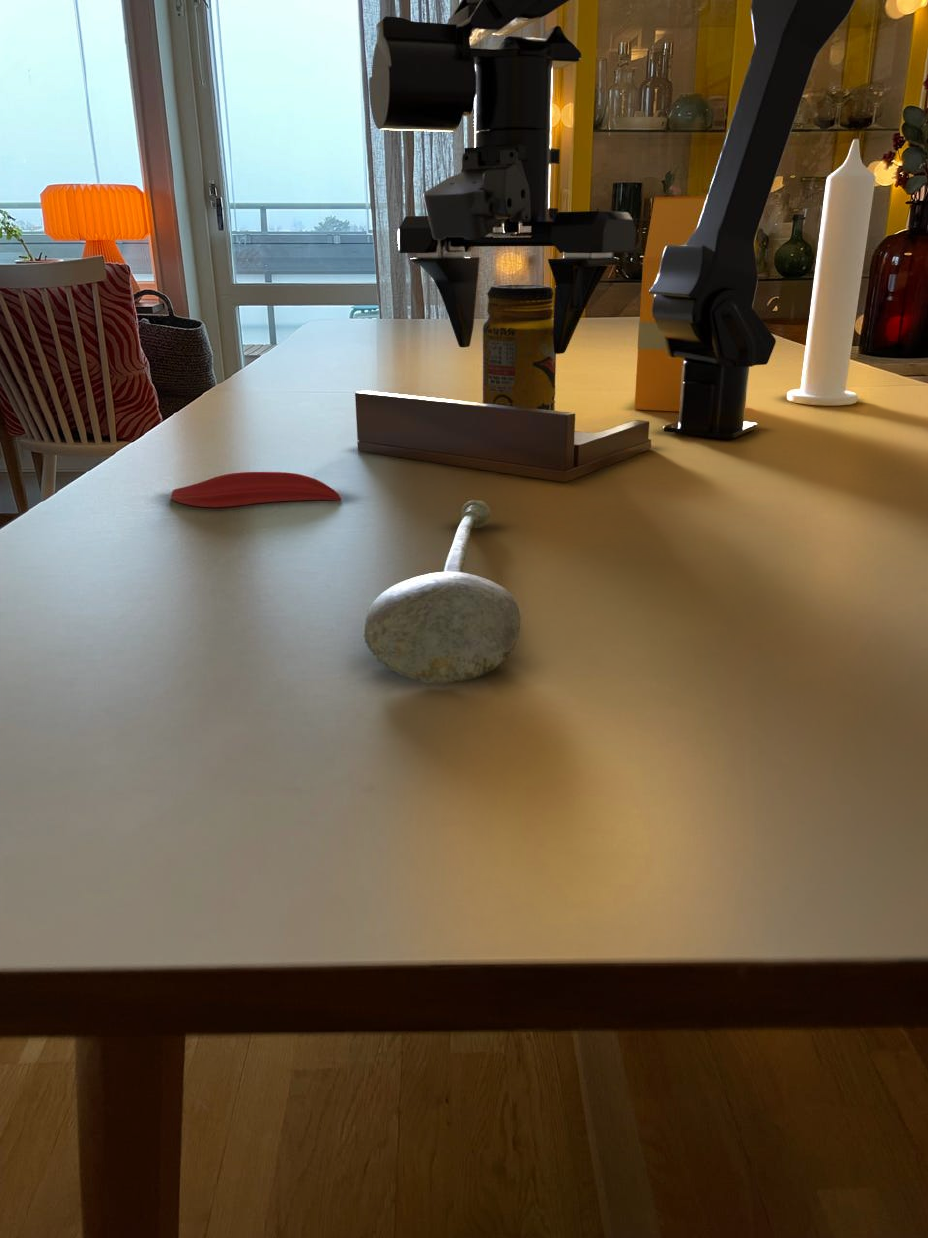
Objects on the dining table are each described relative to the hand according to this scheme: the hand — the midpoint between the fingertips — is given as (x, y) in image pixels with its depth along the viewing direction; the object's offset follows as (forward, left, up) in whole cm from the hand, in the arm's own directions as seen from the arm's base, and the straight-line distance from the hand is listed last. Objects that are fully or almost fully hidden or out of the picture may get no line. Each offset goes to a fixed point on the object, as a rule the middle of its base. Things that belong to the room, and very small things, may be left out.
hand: (510, 350), depth 76 cm
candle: (-39, +14, -8) cm, 42 cm away
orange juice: (-28, +3, -8) cm, 29 cm away
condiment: (0, 0, -7) cm, 7 cm away
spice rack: (+1, 0, -8) cm, 8 cm away
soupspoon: (+30, +17, -8) cm, 35 cm away
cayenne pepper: (+24, -5, -8) cm, 26 cm away
